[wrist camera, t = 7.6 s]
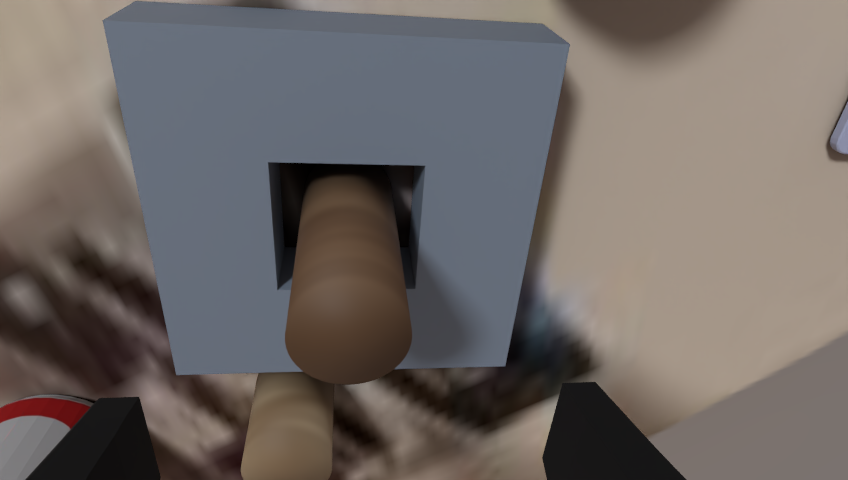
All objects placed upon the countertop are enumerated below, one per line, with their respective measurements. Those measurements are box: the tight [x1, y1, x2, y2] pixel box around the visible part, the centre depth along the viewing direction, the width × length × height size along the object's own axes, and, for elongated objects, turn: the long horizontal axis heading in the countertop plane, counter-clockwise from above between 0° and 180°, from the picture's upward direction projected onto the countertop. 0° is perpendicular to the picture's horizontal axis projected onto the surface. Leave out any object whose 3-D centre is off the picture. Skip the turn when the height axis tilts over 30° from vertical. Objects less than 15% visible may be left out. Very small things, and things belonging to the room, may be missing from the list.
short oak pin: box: [241, 372, 334, 480], centre depth 21 cm, size 3×3×4 cm
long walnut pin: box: [285, 163, 412, 385], centre depth 16 cm, size 3×3×7 cm
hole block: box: [103, 1, 570, 375], centre depth 18 cm, size 11×11×2 cm
